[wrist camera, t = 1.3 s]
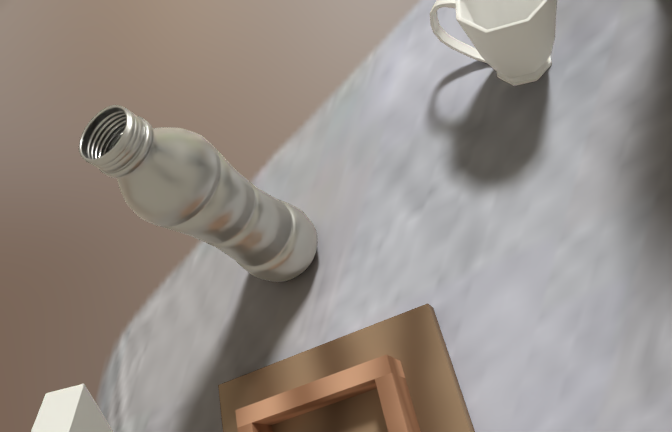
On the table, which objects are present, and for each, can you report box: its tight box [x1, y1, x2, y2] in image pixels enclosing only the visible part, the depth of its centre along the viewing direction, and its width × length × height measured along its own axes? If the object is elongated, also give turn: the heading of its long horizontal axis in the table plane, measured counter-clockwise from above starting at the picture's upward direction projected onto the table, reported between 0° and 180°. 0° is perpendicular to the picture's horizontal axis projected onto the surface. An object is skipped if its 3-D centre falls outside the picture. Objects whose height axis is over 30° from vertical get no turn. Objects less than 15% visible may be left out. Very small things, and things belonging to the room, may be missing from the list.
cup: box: [430, 0, 557, 86], centre depth 40 cm, size 7×10×8 cm
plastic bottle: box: [79, 105, 318, 282], centre depth 37 cm, size 6×7×20 cm
